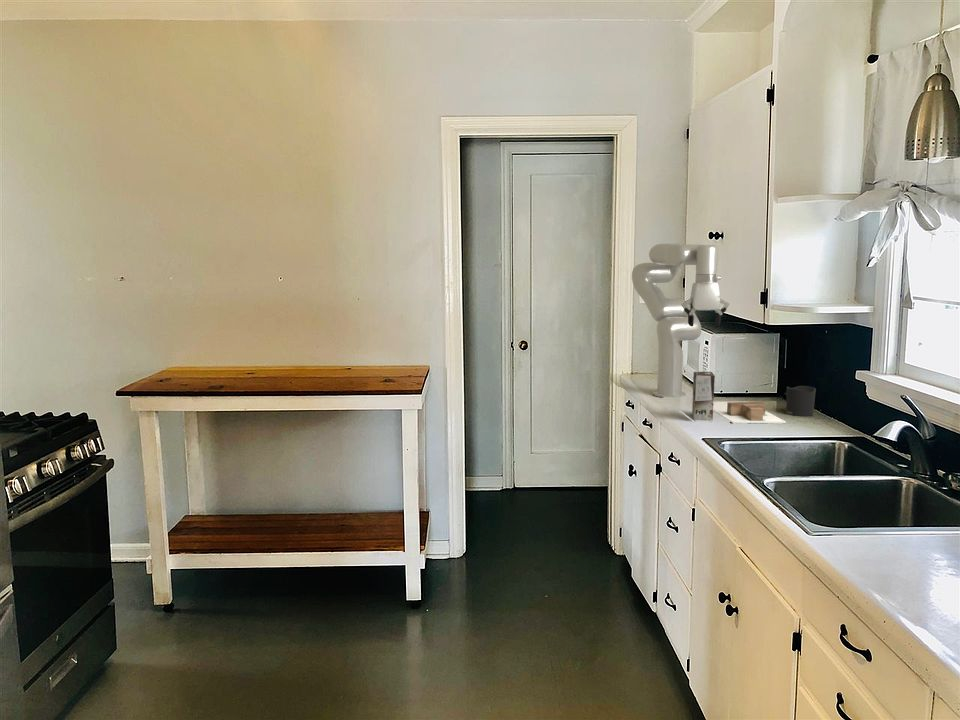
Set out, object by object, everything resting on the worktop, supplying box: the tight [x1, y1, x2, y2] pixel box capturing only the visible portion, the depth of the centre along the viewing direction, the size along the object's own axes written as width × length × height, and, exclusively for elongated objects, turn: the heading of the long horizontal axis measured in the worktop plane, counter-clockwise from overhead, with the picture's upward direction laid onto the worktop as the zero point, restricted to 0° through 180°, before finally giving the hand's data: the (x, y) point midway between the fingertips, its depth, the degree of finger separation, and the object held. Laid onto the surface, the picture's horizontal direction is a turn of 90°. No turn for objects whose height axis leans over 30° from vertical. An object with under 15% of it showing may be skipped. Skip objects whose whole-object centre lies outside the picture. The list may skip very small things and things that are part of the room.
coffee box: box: [691, 371, 716, 422], centre depth 256 cm, size 9×6×16 cm
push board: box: [713, 401, 787, 425], centre depth 267 cm, size 34×18×1 cm, turn 1°
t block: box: [727, 401, 767, 421], centre depth 257 cm, size 12×12×4 cm
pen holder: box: [785, 385, 817, 418], centre depth 261 cm, size 9×9×10 cm
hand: (704, 325), depth 273 cm, fingers open, 9 cm apart
